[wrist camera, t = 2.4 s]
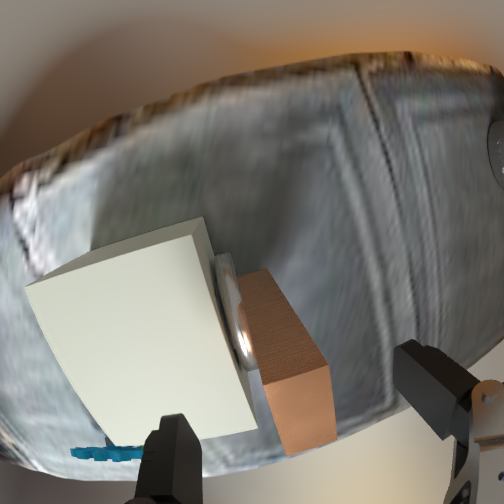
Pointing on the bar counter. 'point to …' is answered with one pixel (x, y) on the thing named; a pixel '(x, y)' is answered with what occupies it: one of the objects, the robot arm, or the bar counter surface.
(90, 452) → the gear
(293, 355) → the wood and metal l-shape
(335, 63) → the bar counter surface
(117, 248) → the block
